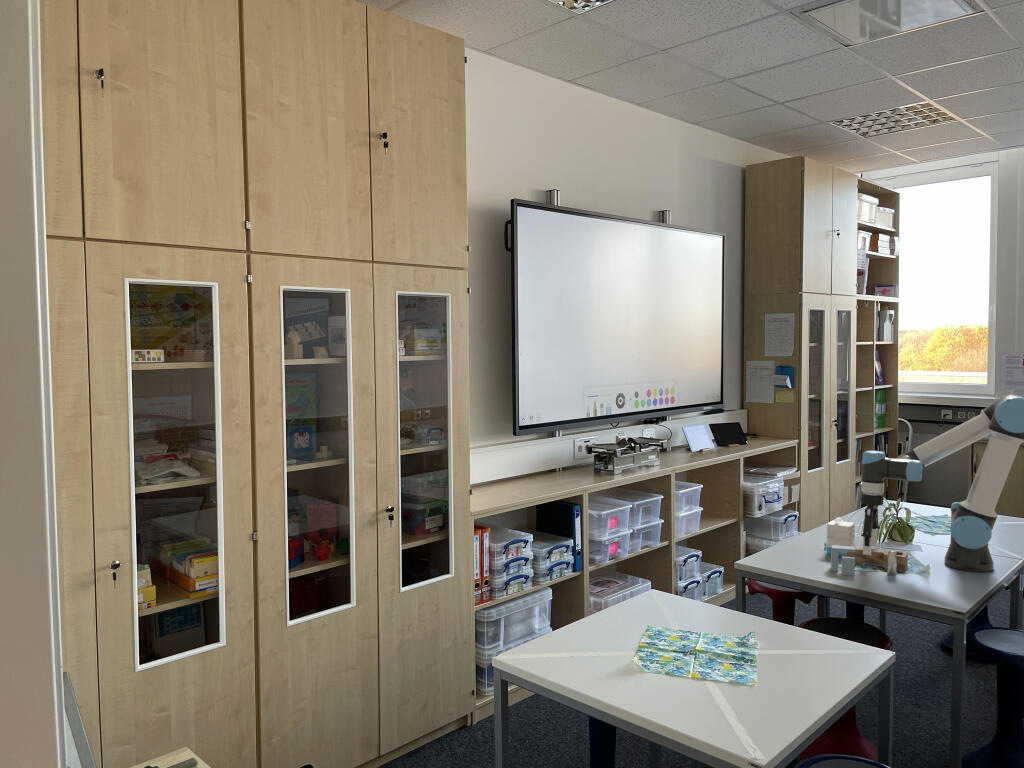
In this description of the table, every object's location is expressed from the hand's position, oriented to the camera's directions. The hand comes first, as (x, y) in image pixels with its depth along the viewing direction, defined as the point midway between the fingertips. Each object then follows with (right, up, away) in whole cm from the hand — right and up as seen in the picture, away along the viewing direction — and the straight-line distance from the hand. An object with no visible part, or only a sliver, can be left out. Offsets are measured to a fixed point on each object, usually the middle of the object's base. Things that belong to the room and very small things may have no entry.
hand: (869, 550), depth 272 cm
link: (+2, -5, -1) cm, 5 cm away
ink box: (-4, -4, +14) cm, 15 cm away
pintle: (+2, -5, -13) cm, 14 cm away
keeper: (-14, -5, -9) cm, 18 cm away
